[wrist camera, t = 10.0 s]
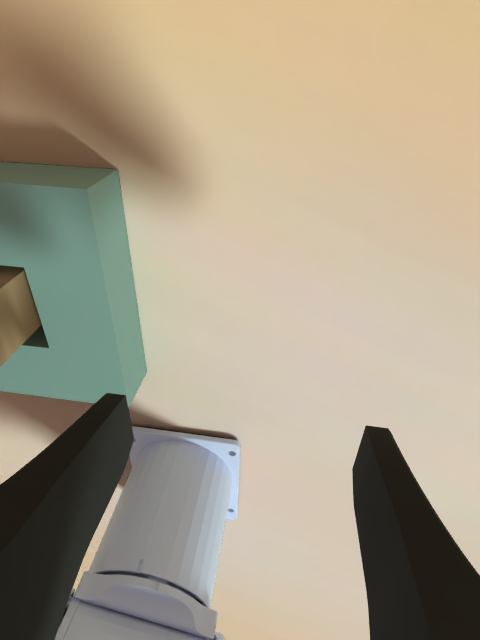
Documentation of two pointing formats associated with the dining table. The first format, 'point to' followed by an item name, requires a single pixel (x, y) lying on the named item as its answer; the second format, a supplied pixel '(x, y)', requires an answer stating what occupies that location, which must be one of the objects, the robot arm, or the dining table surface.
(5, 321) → the peg
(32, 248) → the socket block
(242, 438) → the dining table surface
